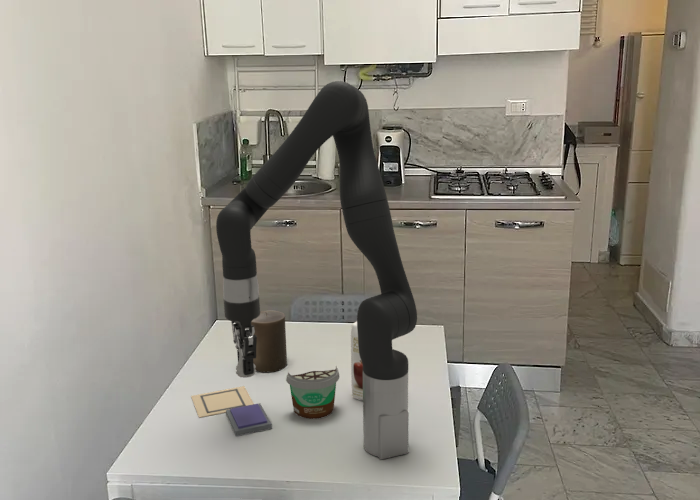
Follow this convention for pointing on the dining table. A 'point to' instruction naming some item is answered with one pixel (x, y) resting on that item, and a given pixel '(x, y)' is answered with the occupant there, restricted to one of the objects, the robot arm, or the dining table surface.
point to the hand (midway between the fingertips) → (245, 368)
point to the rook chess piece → (240, 366)
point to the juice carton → (356, 365)
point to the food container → (313, 393)
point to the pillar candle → (270, 341)
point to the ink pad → (248, 419)
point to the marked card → (221, 401)
